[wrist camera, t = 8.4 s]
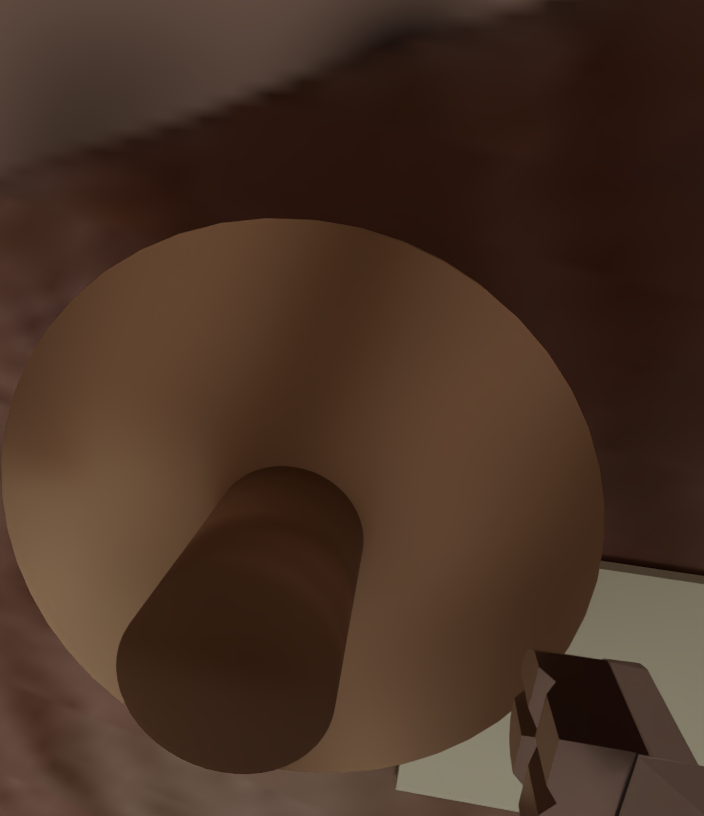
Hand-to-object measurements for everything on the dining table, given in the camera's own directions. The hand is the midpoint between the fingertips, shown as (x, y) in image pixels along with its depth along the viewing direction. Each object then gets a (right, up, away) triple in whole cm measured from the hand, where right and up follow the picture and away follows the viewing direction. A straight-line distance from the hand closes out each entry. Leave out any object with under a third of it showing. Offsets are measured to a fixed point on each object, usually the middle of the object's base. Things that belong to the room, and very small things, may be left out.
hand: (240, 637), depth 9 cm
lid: (+1, +1, +4) cm, 4 cm away
